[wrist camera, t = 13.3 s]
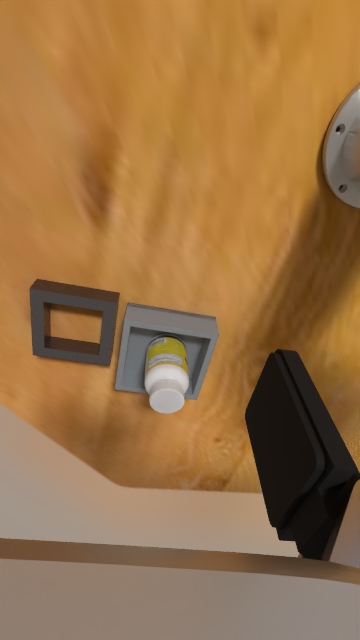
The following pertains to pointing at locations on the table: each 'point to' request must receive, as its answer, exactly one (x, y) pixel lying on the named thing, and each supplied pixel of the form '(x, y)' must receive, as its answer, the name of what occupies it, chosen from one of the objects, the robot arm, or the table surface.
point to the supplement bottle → (166, 373)
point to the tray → (156, 321)
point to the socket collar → (76, 297)
